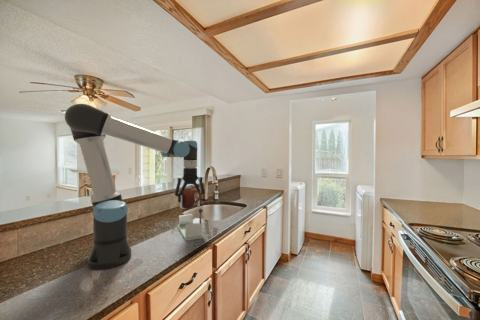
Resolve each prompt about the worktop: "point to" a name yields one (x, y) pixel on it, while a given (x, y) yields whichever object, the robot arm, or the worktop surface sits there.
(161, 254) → the worktop surface
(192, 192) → the mug
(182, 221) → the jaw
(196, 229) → the vise
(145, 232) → the worktop surface
